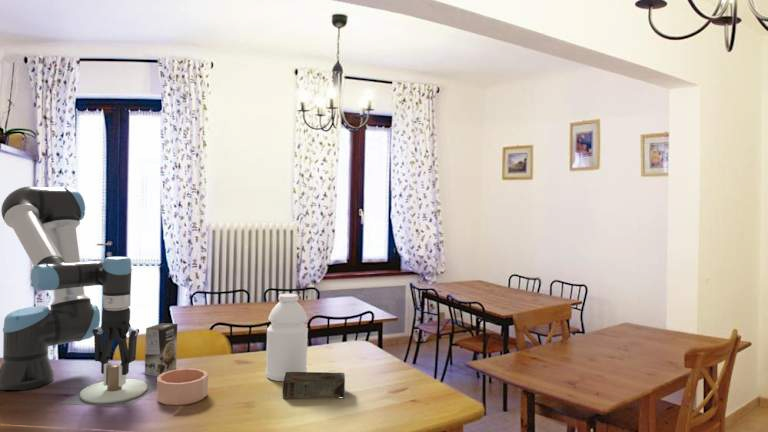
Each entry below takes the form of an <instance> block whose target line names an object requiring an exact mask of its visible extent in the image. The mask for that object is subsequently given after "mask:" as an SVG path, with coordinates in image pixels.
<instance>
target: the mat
mask: <svg viewBox="0 0 768 432" xmlns="http://www.w3.org/2000/svg"><path fill="white" fill-rule="evenodd" d="M103 381H104V379H101V380H99V381H98V382H97V383H99V382H103ZM144 382H145V383H146V384H147V391H146V392H145V393H144V394H142V395H140V396H138V397H136V398H133V399H130V400H126V401H122V402H116V403H107V404H95V403H88V402H85V401H83V400H81V398H80V392H78V393H76V394H75V395H73V396H70V398H68V399H66V400H63V402H60V404H61V405H74V406H75V405H79V406H95V407H96V406H97V407H112V408H113V407H116V408H117V407H118V408H130V407H131V406H132V405H134V404H135V403H137V402H138V401H140V400H141V399H142V398H144V397H145V396H147V395H148V394H149V393H151V392H152V391H154V390H155V389H157V381H155V382H154V381H144Z"/></svg>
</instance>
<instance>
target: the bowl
mask: <svg viewBox="0 0 768 432" xmlns="http://www.w3.org/2000/svg"><path fill="white" fill-rule="evenodd" d="M208 379H209V374H208V372H207V371H206V370H203V369H199V368H189V367H188V368H176V369H174V370H171V371H168V372H164V373H162V374H161V375H159V376H156V382H157V387H156V401H157V402H159V403H161V404H163V405H168V406H169V405H171V406H173V405H174V406H180V405H182V406H189V405H191V404H195V403H198V402H200V401H201V400H203V399H204V398H205V397H206V396H208V392H209V391H208V387H209V386H208V385H209V384H208V383H209V382H208V381H209V380H208Z"/></svg>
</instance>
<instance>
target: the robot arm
mask: <svg viewBox="0 0 768 432" xmlns="http://www.w3.org/2000/svg"><path fill="white" fill-rule="evenodd" d="M85 211H86V203H85V200H84V198H83V196H82V194H81V193H80V192H79V191H78V190H77V189H74V188H67V187H46V186H44V187H43V186H24V187H23V186H22V187H20V188H17V189H15V190H13V191H12V192H11V193H9V194H8V195H7V196H6V197H5V198H4V201H3V202H2V205H1V211H0V212H1V216H2V219H3V221H4V223H5V225H7V227H8V228H11V229H13V231H14V233H15V235H16V237H17V238H18V240H19V242H20V244H21V246H22V247H23V249H24V251H25V253H26V254H27V257H28V258H29V260H30V261H31V263H32V265H33V267H32V269H31V273H30V281H31V286H32V288H33V289H35V290H37V291H53V292H54V300H53V301H52V303H51V304H50V308H49V307H48V306H45V305H38V306H28V307H24V308H19V309H17V310H14V311H12V312H10V313H8V314H6V315H5V317H4V318H3V319H4V322H3V328H2V332H3V339H2V340H3V346H2V347H3V348H2V349H3V351H2V354H3V356H2V357H3V358H2V362H1V363H2V364H1V366H0V389H1V390H0V391H2V390H20V391H26V390H25V389H28V390H32V388H33V389H37V388H41V387H43V386H46V385H48V384H50V383H52V382H53V381H54V380H55V379H54V378H55V371H54V369H53V367H52V364H51V361H50V358H49V347H51V346H57V345H63V344H64V345H65V344H69V343H74V342H80V341H85V340H89V339H91V338H93V337H94V340H93V341H94V361H95V362H99V363H101V367H100V368H101V369H100V370H101V375H103V380H104V381H103V386H106V385H107V374H108V366H109V365H112V361H111V359H110V357H111V352H112V348H113V343H114V340H116V343H117V344H118V350H119V351H118V352H119V356H120V361H121V363H119V364H120V365H119V382H118V386H120V387H121V386H122V385H124V384H126V379H127V375H128V374H129V372H130V371H129V368H130V367H129V366H130V363H132V362H134V361H135V360H136V358H137V356H136V355H137V344H138V343H137V341H138V335H139V333H140V329H139V328H136V329H135V328H133V327H131V326H132V325H131V324H130V320H131V308H130V307H131V294H132V293H131V292H132V291H131V287H132V270H133V269H132V259H131V258H130V257H128V256H107V257H105V258H104V259H91V260H88V261H81V258H80V251H79V244H78V236H77V228H78V226H79V225H80V223H81V222H80V221H82V220H83V219H84V217H85V215H86V212H85ZM90 286H91V287H93V286H102V308H103V309H102V310H101V311H102V313H100V308H98V305H96V304H94V303H91V298H90V297H88V296H87V295H86V294H85V289H84V287H90ZM101 320H102V324H101V326H100V321H101ZM103 333H104V334H103ZM127 334H128V336H129V337H127ZM104 335H105V336H104ZM127 340H128V342H127Z"/></svg>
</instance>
